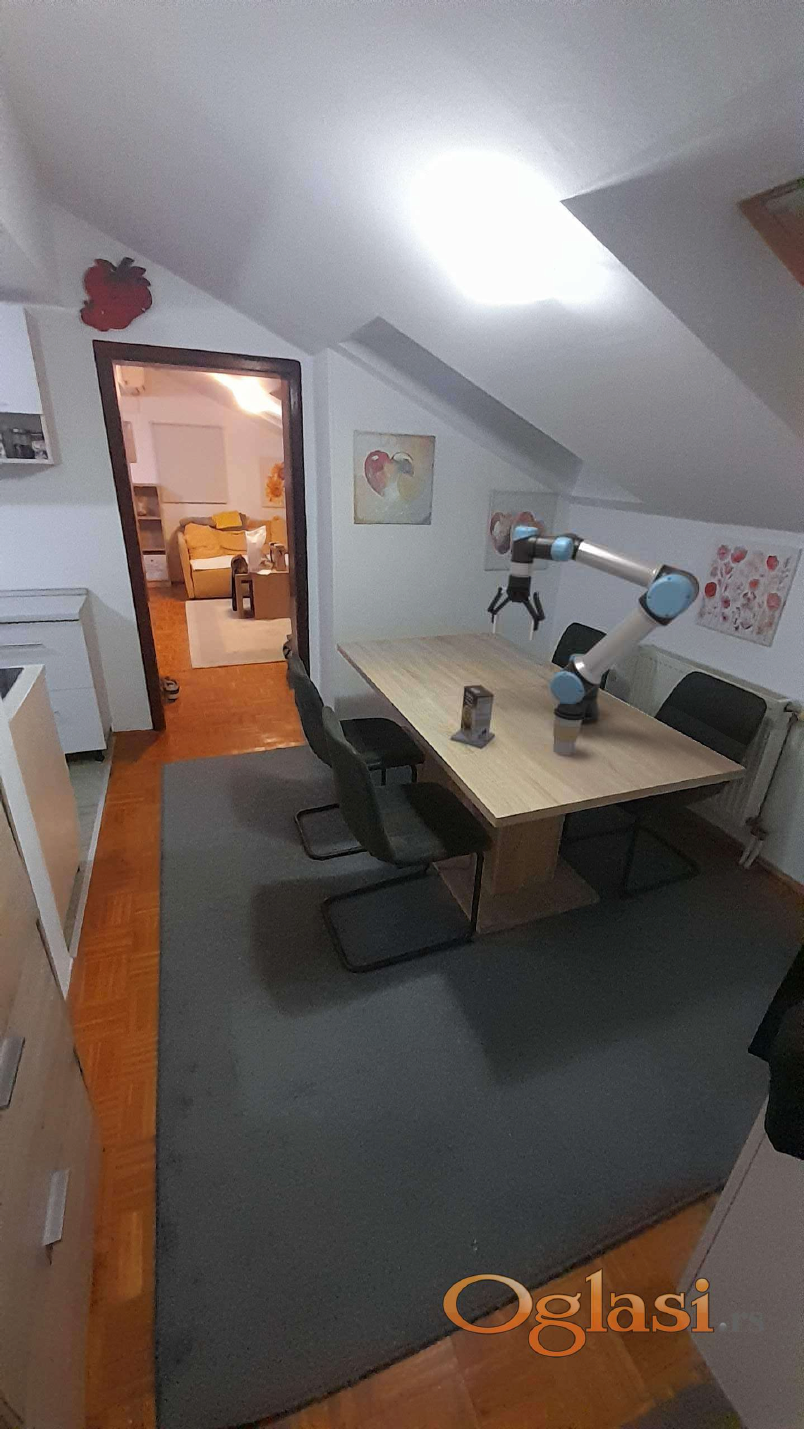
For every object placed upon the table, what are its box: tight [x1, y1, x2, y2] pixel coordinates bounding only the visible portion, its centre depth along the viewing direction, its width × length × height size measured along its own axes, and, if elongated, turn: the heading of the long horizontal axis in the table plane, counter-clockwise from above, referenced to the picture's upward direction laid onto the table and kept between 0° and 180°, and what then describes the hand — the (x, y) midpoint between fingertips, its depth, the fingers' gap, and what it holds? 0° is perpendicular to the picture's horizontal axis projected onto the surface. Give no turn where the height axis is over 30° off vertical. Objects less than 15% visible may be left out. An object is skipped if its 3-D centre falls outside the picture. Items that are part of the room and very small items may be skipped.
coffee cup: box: [552, 704, 585, 756], centre depth 185 cm, size 9×9×15 cm
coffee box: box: [459, 684, 495, 742], centre depth 191 cm, size 9×6×16 cm
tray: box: [450, 729, 495, 749], centre depth 194 cm, size 11×11×1 cm
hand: (512, 636), depth 205 cm, fingers open, 13 cm apart
